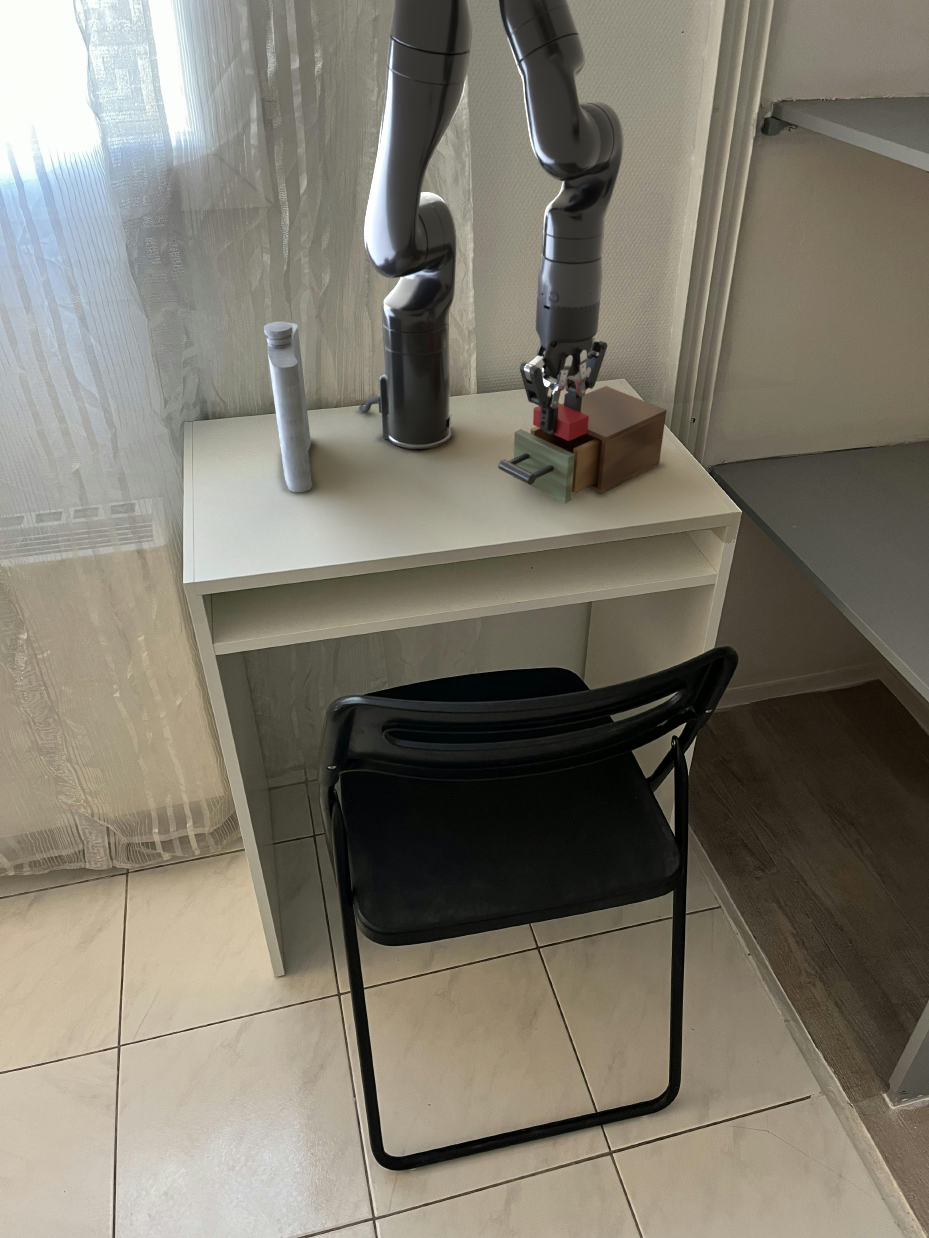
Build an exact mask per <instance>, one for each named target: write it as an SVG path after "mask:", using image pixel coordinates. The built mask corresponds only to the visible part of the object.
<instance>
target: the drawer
mask: <svg viewBox="0 0 929 1238" xmlns="http://www.w3.org/2000/svg"><path fill="white" fill-rule="evenodd" d="M601 444H602V440H600V439H598V438H595V437H593V436H591V435H589V434H584V435H581V436H579V437H577V438H575V439H572V440H570V441H567V440H565V439H563V438H561V437H558V436H556V435H554V434H548V433H546V432H544V431H543V430H542V429H541V428H539V427H537V426H535V427H532V428H530V432H528V431H526V430H524V429H521V428H520V429H518V430H515V431H514V441H513V458H511V459H509V460H506V459H501V460H500V461H499V463H498V469H499V470H500V471H502V472H504V473H505V474H507V475H510V476H512V477H513V478H515V479H516V480H518V481H521V482H522V483H524V484H526V485H528V486H530V487H532V488H534V489H536V490H538V491H539V492H542V493H544V494H545V495H548V496H550V497H552V498H553V499H555V500H558V501H560V502H561V503H564V504H567V503H568V502H570V501H572V495H573V494H577V493H580V492H581V491H583V490H585V489H588V488H587V487H589V486H591V485H593V484H595V483H597V482H598V476H599V465H600V455H601Z"/></svg>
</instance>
